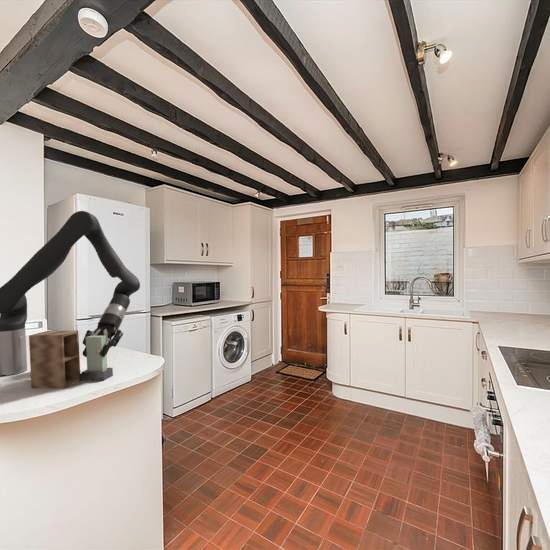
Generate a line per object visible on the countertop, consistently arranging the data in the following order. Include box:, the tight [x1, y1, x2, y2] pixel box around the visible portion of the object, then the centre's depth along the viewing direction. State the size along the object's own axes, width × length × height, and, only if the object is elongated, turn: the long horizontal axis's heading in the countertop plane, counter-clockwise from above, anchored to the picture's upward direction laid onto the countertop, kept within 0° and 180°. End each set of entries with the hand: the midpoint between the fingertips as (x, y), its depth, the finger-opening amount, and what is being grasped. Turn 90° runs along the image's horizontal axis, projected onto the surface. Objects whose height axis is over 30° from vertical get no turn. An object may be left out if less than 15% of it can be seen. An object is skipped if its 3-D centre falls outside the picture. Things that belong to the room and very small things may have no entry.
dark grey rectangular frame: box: [79, 367, 114, 381], centre depth 112 cm, size 9×5×3 cm, turn 84°
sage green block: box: [85, 336, 108, 372], centre depth 112 cm, size 6×4×14 cm, turn 84°
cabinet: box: [28, 330, 81, 389], centre depth 107 cm, size 12×8×18 cm, turn 84°
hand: (93, 355), depth 111 cm, fingers closed on sage green block, 6 cm apart
